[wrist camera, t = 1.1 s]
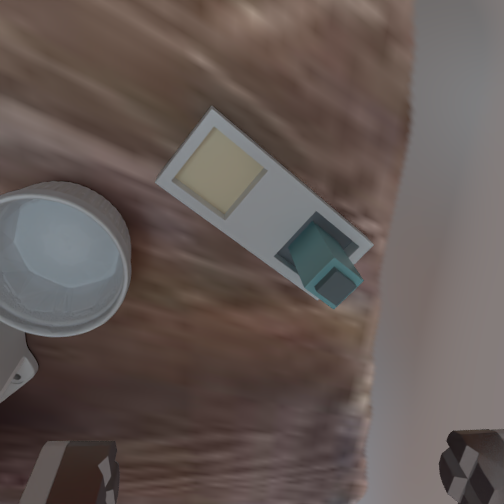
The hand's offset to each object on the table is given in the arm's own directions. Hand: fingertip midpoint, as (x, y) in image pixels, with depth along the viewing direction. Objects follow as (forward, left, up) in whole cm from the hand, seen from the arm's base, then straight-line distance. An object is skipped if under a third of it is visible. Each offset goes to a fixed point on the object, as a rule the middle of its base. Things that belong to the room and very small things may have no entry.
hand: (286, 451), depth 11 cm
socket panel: (-2, -6, -32) cm, 32 cm away
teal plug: (-2, -12, -31) cm, 34 cm away
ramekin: (-16, +7, -32) cm, 36 cm away
